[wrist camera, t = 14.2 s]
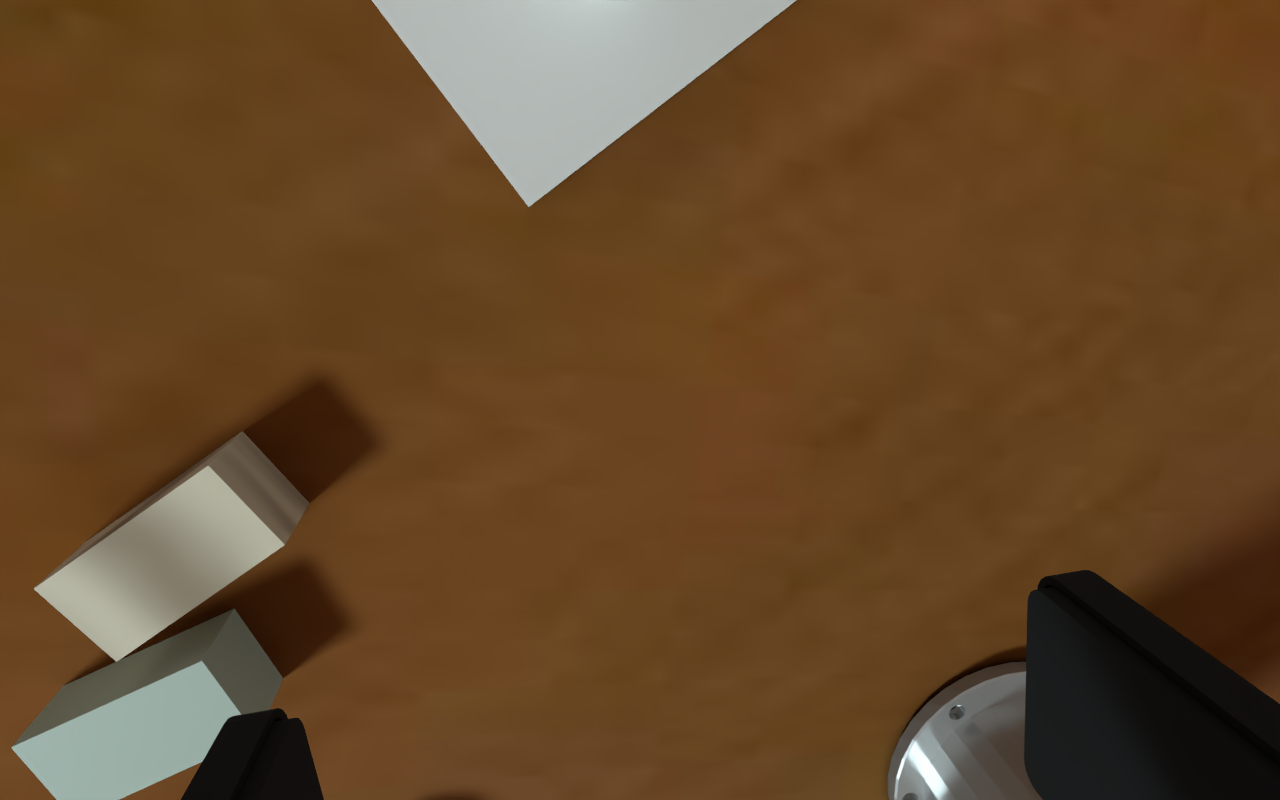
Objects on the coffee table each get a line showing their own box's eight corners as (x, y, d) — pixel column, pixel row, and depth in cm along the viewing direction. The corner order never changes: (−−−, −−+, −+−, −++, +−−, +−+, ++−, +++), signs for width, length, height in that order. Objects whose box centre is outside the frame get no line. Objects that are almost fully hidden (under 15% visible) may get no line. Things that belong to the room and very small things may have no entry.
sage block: (235, 606, 35) (201, 660, 31) (284, 675, 36) (257, 736, 33) (65, 682, 35) (10, 747, 31) (120, 750, 36) (74, 819, 32)
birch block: (243, 429, 33) (208, 465, 29) (310, 501, 34) (284, 544, 30) (88, 539, 33) (33, 588, 29) (160, 606, 35) (116, 662, 31)
